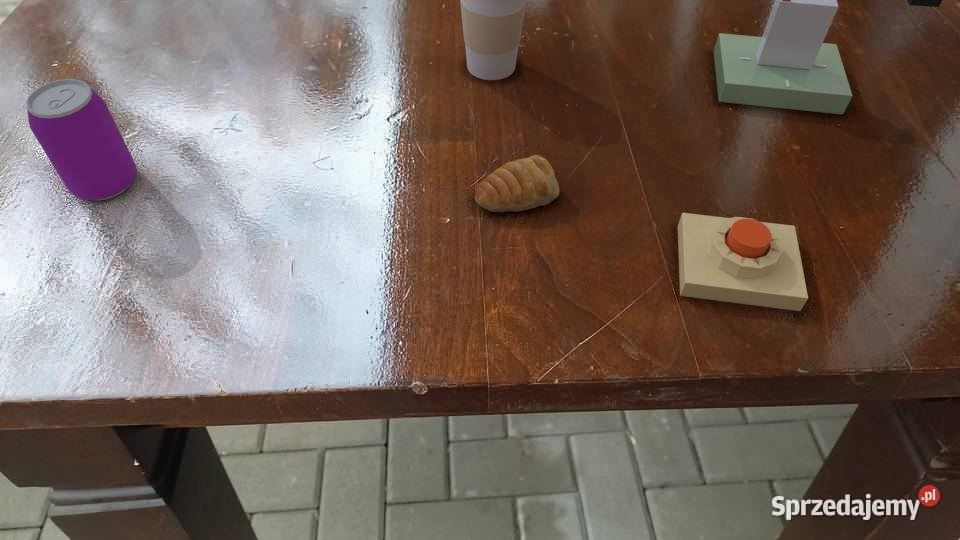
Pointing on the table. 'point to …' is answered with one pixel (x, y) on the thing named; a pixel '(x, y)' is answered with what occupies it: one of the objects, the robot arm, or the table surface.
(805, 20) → the switch lever
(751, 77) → the panel
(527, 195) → the pastry
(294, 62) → the table surface
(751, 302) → the button box
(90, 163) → the beverage can
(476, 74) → the coffee cup
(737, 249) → the button
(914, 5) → the robot arm
